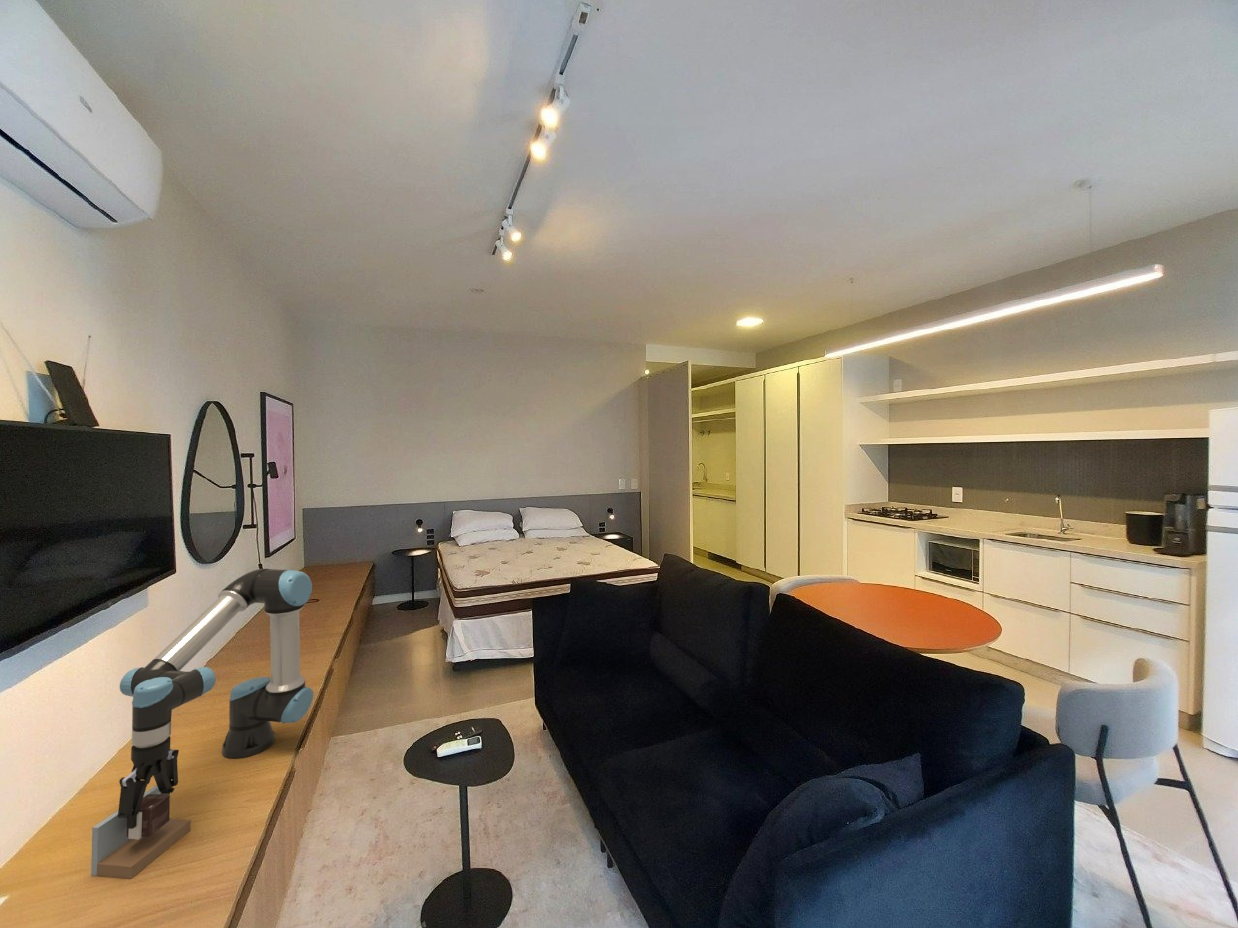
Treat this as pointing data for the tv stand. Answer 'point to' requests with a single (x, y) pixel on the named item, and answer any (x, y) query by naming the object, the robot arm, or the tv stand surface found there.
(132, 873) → the board
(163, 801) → the box
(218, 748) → the tv stand surface
